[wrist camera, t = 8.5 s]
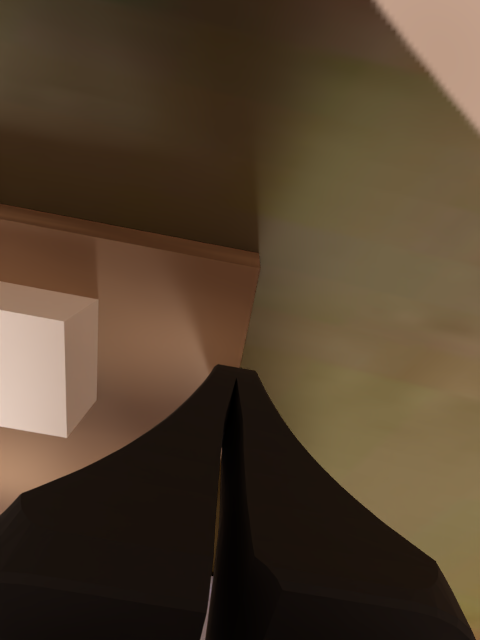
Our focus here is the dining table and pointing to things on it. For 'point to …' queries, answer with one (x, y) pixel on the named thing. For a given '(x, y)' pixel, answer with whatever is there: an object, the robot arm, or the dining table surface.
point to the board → (125, 329)
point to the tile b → (46, 359)
